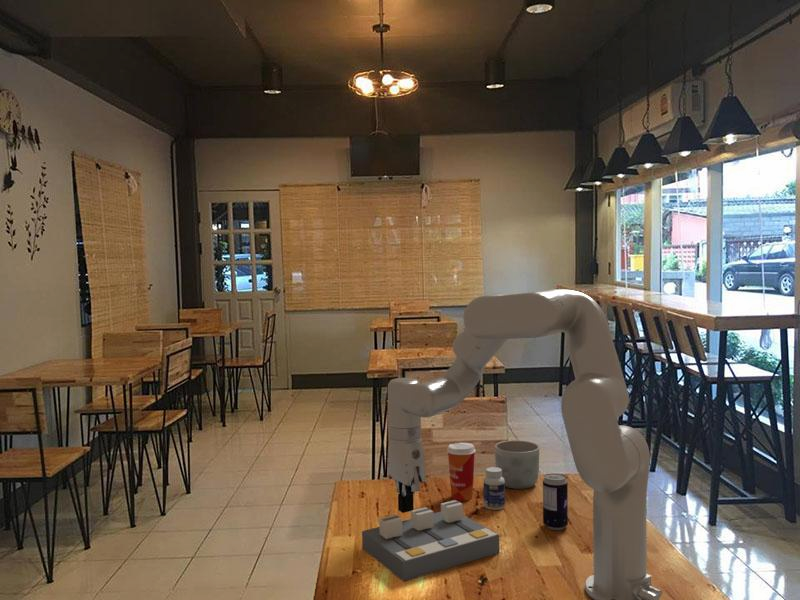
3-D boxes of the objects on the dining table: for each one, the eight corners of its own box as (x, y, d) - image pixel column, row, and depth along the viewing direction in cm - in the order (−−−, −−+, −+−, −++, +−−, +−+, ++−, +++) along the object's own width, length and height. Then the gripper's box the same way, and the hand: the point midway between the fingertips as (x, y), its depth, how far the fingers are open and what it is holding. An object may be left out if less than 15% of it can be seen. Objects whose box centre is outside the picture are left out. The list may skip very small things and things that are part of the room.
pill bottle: (488, 511, 169) (488, 473, 169) (480, 504, 174) (480, 467, 174) (508, 509, 171) (508, 471, 170) (499, 501, 176) (499, 465, 175)
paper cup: (442, 495, 182) (441, 444, 181) (467, 490, 185) (466, 440, 184) (456, 504, 174) (455, 451, 174) (482, 499, 178) (481, 447, 177)
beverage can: (568, 532, 156) (567, 481, 155) (543, 530, 157) (542, 480, 156) (567, 522, 161) (566, 473, 160) (543, 521, 162) (542, 472, 162)
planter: (492, 490, 185) (492, 451, 184) (497, 476, 197) (496, 439, 196) (539, 493, 182) (538, 453, 181) (540, 478, 194) (540, 441, 193)
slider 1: (402, 534, 145) (402, 518, 145) (386, 539, 143) (385, 522, 143) (395, 530, 148) (395, 513, 148) (379, 534, 146) (379, 517, 146)
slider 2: (433, 526, 149) (433, 510, 149) (418, 530, 147) (417, 514, 147) (426, 522, 152) (426, 506, 152) (411, 526, 150) (410, 509, 150)
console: (499, 552, 145) (499, 532, 145) (403, 581, 133) (403, 559, 133) (451, 525, 161) (451, 506, 161) (362, 548, 149) (362, 528, 149)
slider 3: (462, 519, 153) (462, 503, 153) (448, 522, 151) (448, 506, 151) (455, 514, 156) (455, 499, 156) (440, 518, 154) (440, 502, 154)
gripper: (436, 437, 150) (437, 517, 151) (402, 423, 163) (403, 497, 164) (407, 442, 146) (408, 525, 147) (374, 427, 159) (376, 503, 160)
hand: (405, 510), depth 155 cm, fingers closed
